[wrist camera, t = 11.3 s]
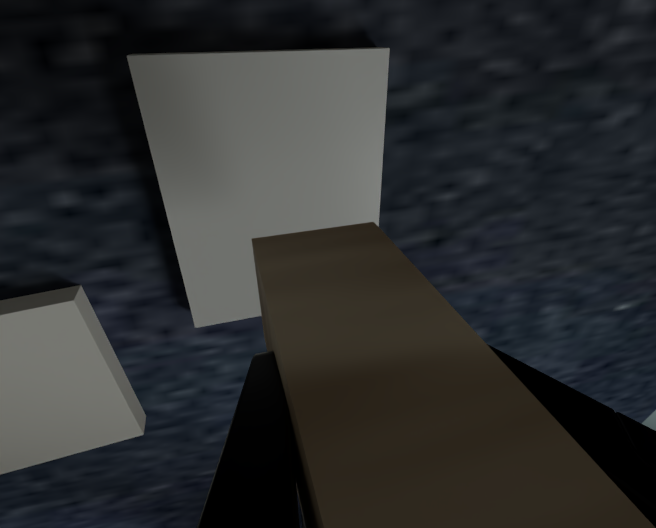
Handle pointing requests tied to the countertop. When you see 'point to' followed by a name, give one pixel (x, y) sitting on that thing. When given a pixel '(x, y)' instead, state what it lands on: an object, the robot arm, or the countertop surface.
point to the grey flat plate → (259, 155)
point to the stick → (410, 401)
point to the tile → (59, 381)
